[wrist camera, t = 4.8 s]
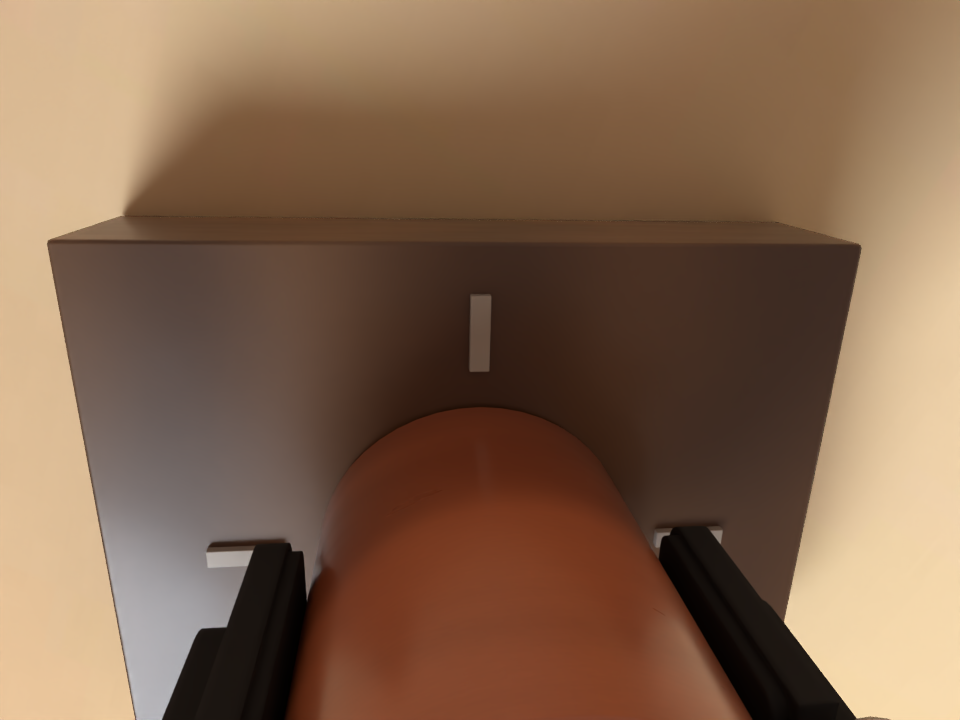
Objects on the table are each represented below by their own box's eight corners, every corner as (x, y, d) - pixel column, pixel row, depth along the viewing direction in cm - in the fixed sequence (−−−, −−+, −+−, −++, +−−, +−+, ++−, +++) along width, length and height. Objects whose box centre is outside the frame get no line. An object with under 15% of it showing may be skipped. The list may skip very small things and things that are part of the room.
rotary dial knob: (313, 407, 12) (196, 776, 5) (637, 404, 13) (907, 725, 6) (326, 673, 14) (255, 1193, 7) (607, 658, 15) (784, 1121, 8)
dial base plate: (188, 686, 18) (144, 800, 15) (118, 215, 14) (39, 241, 11) (706, 653, 19) (762, 751, 16) (778, 222, 15) (869, 245, 12)
